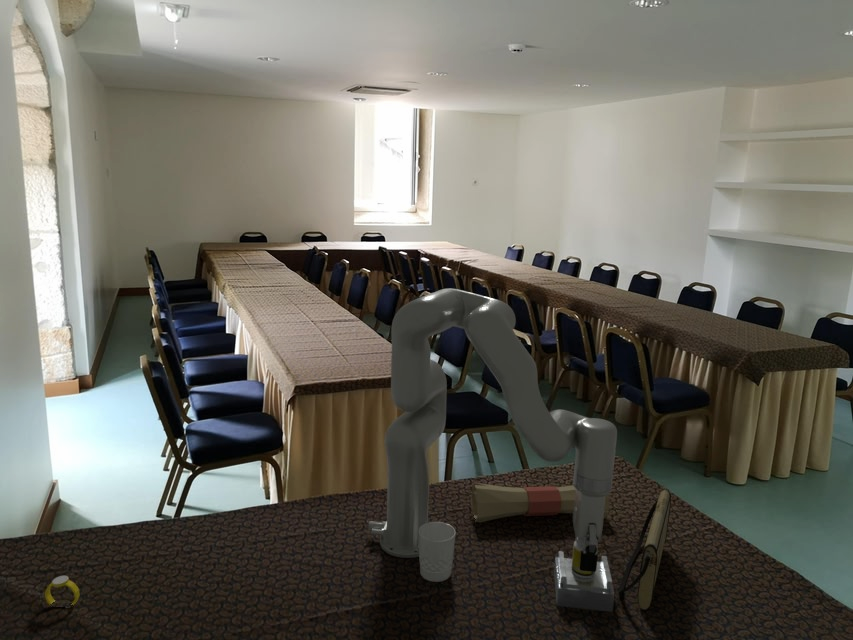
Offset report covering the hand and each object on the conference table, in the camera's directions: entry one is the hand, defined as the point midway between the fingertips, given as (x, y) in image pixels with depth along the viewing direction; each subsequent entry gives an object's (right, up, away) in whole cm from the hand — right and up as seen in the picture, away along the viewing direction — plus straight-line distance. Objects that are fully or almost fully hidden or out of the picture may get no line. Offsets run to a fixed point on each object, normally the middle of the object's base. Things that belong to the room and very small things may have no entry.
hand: (585, 556), depth 134 cm
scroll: (-4, -2, +32) cm, 32 cm away
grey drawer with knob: (0, -8, +3) cm, 8 cm away
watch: (-103, -7, -7) cm, 104 cm away
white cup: (-31, -6, +7) cm, 32 cm away
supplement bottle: (0, -4, +1) cm, 4 cm away
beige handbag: (+15, -7, +9) cm, 18 cm away
